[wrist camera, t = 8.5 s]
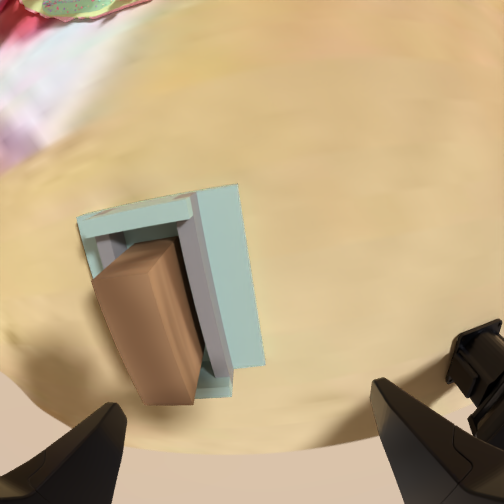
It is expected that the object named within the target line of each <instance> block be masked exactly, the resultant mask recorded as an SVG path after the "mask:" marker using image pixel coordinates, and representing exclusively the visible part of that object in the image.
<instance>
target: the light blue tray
mask: <svg viewBox="0 0 504 504" xmlns="http://www.w3.org/2000/svg"><path fill="white" fill-rule="evenodd" d="M77 223H78V227H79V231H80V235H81V238H82V242H83V246H84V249H85V253H86V257H87V260H88V263H89V267H90V270H91V273H92V276H93V279H94V278H95V277H96V276H97V275H98V274H99V273H100V272H102V271H103V270H104V269H105V268H106V267H107V266H108V265H110V264H111V263H112V262H113V261H114V260H115V259H116V258H118V257H119V256H120V255H121V254H122V253H123V252H125V251H126V250H127V249H128V248H129V247H131V246H132V245H133V244H134V243H138V242H144V241H150V240H156V239H162V238H167V237H174V236H179V241H180V245H181V250H182V254H183V258H184V263H185V267H186V271H187V275H188V280H189V284H190V288H191V292H192V296H193V300H194V304H195V307H196V311H197V315H198V319H199V323H200V326H201V330H202V334H203V337H204V341H205V349H204V353H203V358H202V363H201V368H200V373H199V378H198V383H197V388H196V393H195V399H203V398H221V397H232V386H233V369H237V368H246V367H255V366H264V365H265V355H264V349H263V342H262V336H261V330H260V324H259V317H258V311H257V305H256V298H255V292H254V286H253V279H252V273H251V266H250V260H249V254H248V247H247V241H246V234H245V228H244V222H243V215H242V209H241V202H240V196H239V189H238V184H232V185H226V186H220V187H213V188H207V189H202V190H196V191H190V192H185V193H179V194H174V195H169V196H164V197H159V198H154V199H149V200H144V201H139V202H135V203H130V204H126V205H121V206H117V207H113V208H108V209H104V210H100V211H96V212H92V213H88V214H84V215H81V216H79V217H77Z"/></svg>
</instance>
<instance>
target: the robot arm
mask: <svg viewBox="0 0 504 504" xmlns="http://www.w3.org/2000/svg"><path fill="white" fill-rule="evenodd" d="M501 325H502V320H500V319H497V320H494V321H492V322H489V323H487V324H485V325H482V326H480V327H477V328H474V329H472V330H469V331H467V332H464V333H462V334H460V336H459V337H458V340H457V344H456V348H455V351H454V355H453V358H452V362H451V365H450V368H449V371H448V374H447V377H446V382H447V384H451V383H453V382H455V383H456V385H457V386H458V387H459V389H460V390H461V391H462V393H463V394H464V396H465V397H466V398H469V397H470V399H471V400H472V402H473V403H474V404H475V406H476V407H477V409H476V410H475V411H474V413H473V414H471V415H470V416H469V417H468V422H469V425H470V428H471V431H472V434H473V436H472V435H470V434H469V433H467V432H466V431H464V430H462V429H461V428H459V427H458V426H455V425H454V424H453V423H452V422H450V421H448V420H447V419H445V418H444V417H442V416H441V415H439V414H438V413H436V412H435V411H433V410H432V409H430V408H429V407H427V406H426V405H424V404H423V403H421V402H420V401H418V400H417V399H416V398H414V397H413V396H411V395H410V394H408V393H407V392H405V391H404V390H402V389H401V388H399V387H398V386H396V385H395V384H394V383H392V382H391V381H389V380H388V379H386V378H384V377H382V378H378V379H374V380H373V381H372V386H371V394H370V401H371V405H372V409H373V413H374V416H375V420H376V424H377V428H378V432H379V436H380V439H381V442H382V444H383V447H384V449H385V452H386V455H387V457H388V460H389V462H390V465H391V468H392V470H393V473H394V476H395V478H396V481H397V484H398V487H399V489H400V492H401V495H402V498H403V500H404V503H405V504H504V338H503V337H502V336H501V335H500V334H499V332H500V329H501ZM126 426H127V418H126V416H125V414H124V413H123V411H122V409H121V408H120V406H119V405H118V404H117V403H113V402H107V403H105V404H104V405H103V406H102V407H100V408H99V409H98V410H96V411H95V412H94V413H93V414H91V415H90V416H89V417H87V418H86V419H85V420H83V421H82V422H81V423H79V424H78V425H77V426H75V427H74V428H73V429H72V430H70V431H69V432H68V433H66V434H65V435H64V436H62V437H61V438H60V439H58V440H57V441H56V442H54V443H53V444H51V445H50V446H49V447H47V448H46V449H45V450H43V451H42V452H41V453H39V454H38V455H36V456H35V457H33V458H32V459H30V460H29V461H27V462H26V463H24V464H22V465H21V466H19V467H17V468H15V469H14V470H12V471H10V472H8V473H7V474H5V475H3V476H0V504H111V503H112V498H113V494H114V489H115V484H116V480H117V476H118V471H119V467H120V463H121V459H122V454H123V448H124V440H125V433H126Z"/></svg>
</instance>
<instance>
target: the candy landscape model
mask: <svg viewBox="0 0 504 504" xmlns="http://www.w3.org/2000/svg"><path fill="white" fill-rule="evenodd" d="M146 1H150V0H19V3H21V4H23V5H24V6H25V9H26V10H28V11H30V12H32V13H35V14H37V13H40V16H43V17H44V18H46V19H48V18H57V19H59V20H61V21H63V22H68V21H71V20H73V19H75V18H79V19H85V18H91V19H96V18H99V17H102V16H105V15H107V14H110V13H113V12H116V11H118V10H121V9H124V8H127V7H130V6H133V5H136V4H139V3H143V2H146Z"/></svg>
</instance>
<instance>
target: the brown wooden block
mask: <svg viewBox="0 0 504 504" xmlns="http://www.w3.org/2000/svg"><path fill="white" fill-rule="evenodd" d="M91 282H92V285H93V288H94V291H95V294H96V296H97V299H98V302H99V305H100V307H101V310H102V313H103V315H104V318H105V321H106V323H107V326H108V328H109V331H110V333H111V335H112V338H113V340H114V343H115V345H116V347H117V349H118V352H119V354H120V356H121V358H122V361H123V363H124V365H125V367H126V369H127V371H128V373H129V375H130V377H131V380H132V382H133V384H134V386H135V388H136V389H137V391H138V393H139V395H140V397H141V399H142V401H143V403H144V405H193V404H194V399H195V393H196V388H197V383H198V378H199V373H200V368H201V363H202V358H203V353H204V349H205V341H204V337H203V334H202V330H201V326H200V323H199V319H198V315H197V311H196V307H195V304H194V300H193V296H192V292H191V288H190V284H189V280H188V275H187V271H186V267H185V263H184V258H183V254H182V250H181V245H180V241H179V236H174V237H167V238H162V239H156V240H150V241H144V242H138V243H134V244H133V245H132V246H131V247H129V248H128V249H127V250H126V251H125V252H123V253H122V254H121V255H120V256H119V257H118V258H116V259H115V260H114V261H113V262H112V263H111V264H110V265H108V266H107V267H106V268H105V269H104V270H103V271H102V272H100V273H99V274H98V275H97V276H96V277H95V278H94V279H93V280H92V281H91Z"/></svg>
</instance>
